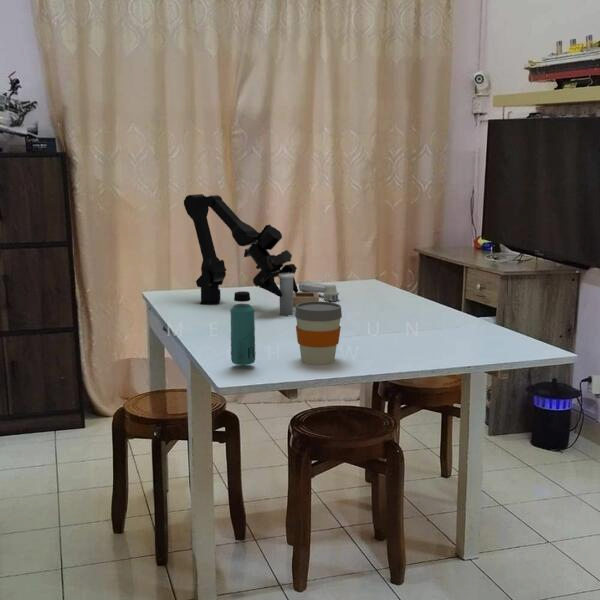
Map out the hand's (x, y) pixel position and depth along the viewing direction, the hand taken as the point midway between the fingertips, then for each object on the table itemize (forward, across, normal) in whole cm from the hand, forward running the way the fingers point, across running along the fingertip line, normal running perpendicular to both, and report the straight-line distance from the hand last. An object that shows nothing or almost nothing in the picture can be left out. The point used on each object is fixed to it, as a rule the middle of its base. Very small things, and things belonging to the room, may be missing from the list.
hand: (289, 294), depth 268 cm
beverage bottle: (+23, -58, -12) cm, 63 cm away
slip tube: (+4, 0, +6) cm, 7 cm away
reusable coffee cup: (+32, -41, -21) cm, 56 cm away
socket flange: (+1, +17, +9) cm, 19 cm away
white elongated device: (-2, +34, +13) cm, 36 cm away
